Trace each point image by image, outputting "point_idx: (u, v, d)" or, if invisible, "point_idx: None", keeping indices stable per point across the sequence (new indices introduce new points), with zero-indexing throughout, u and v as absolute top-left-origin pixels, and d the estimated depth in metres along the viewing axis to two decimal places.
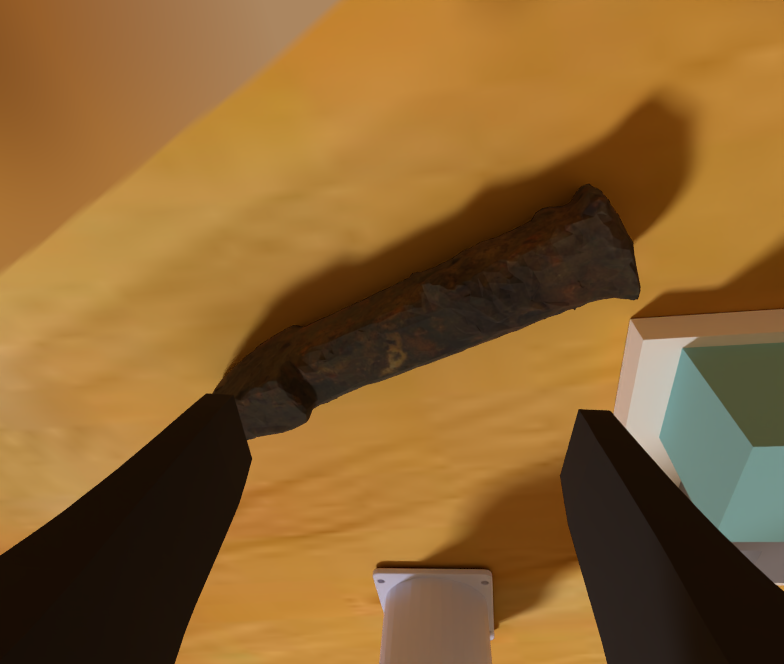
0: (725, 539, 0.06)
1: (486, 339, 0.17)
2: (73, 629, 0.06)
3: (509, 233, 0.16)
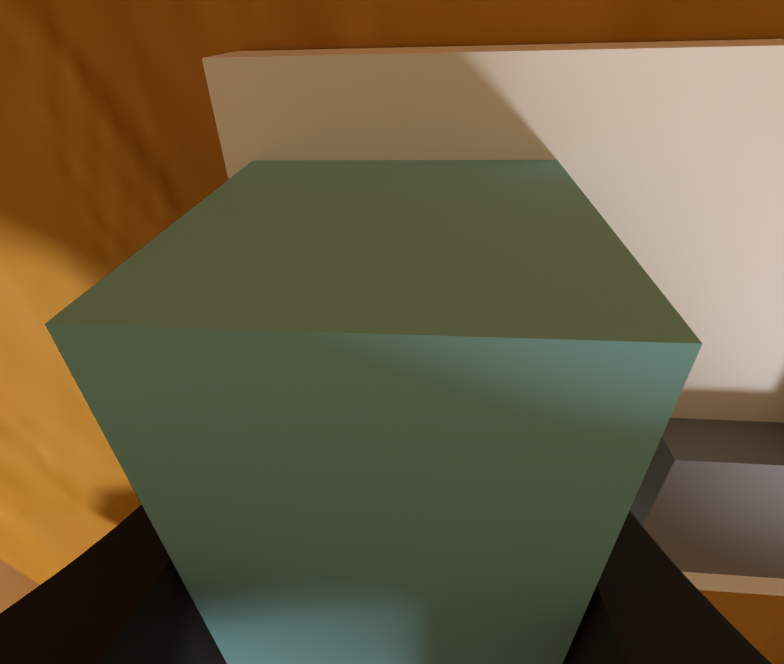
0: (644, 534, 0.06)
1: None
2: (151, 636, 0.06)
3: None
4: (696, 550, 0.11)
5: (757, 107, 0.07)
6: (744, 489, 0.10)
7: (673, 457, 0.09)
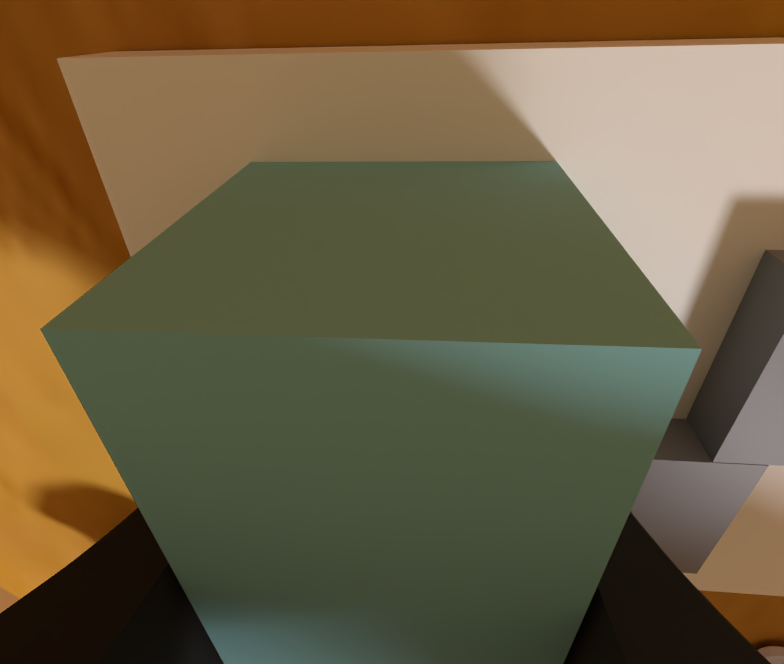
0: (644, 534, 0.06)
1: None
2: (151, 636, 0.06)
3: None
4: None
5: (595, 107, 0.07)
6: None
7: None
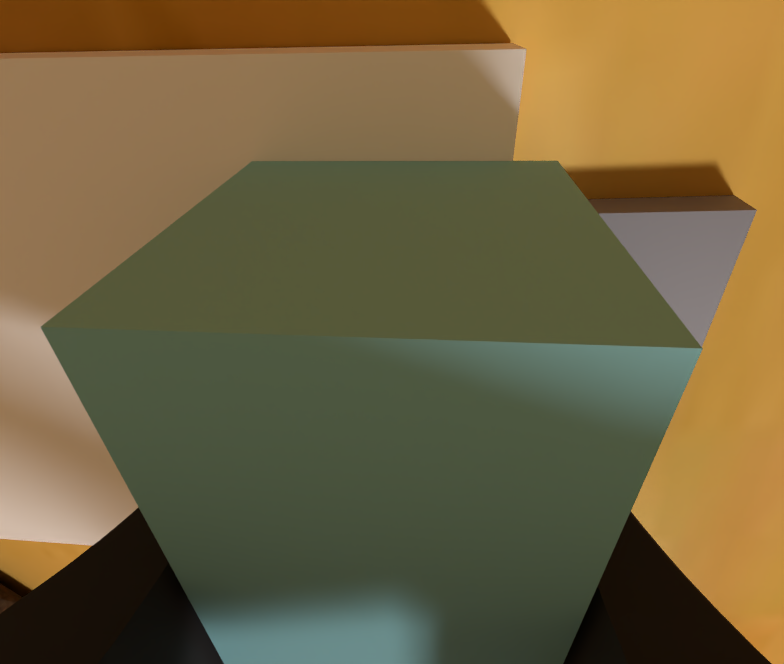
0: (645, 534, 0.06)
1: None
2: (151, 636, 0.06)
3: None
4: None
5: None
6: None
7: None
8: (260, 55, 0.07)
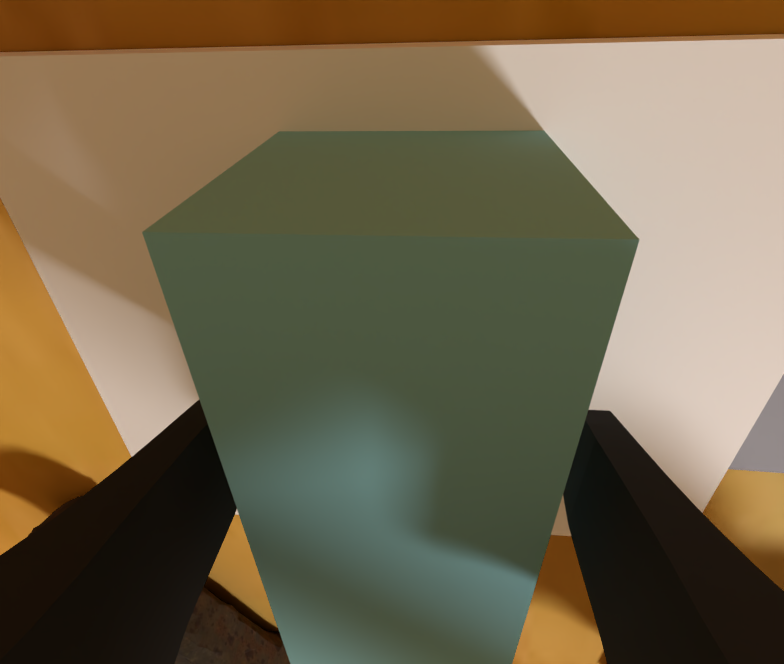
0: (725, 539, 0.06)
1: None
2: (72, 629, 0.06)
3: None
4: (782, 450, 0.14)
5: (363, 97, 0.08)
6: None
7: None
8: (719, 41, 0.08)
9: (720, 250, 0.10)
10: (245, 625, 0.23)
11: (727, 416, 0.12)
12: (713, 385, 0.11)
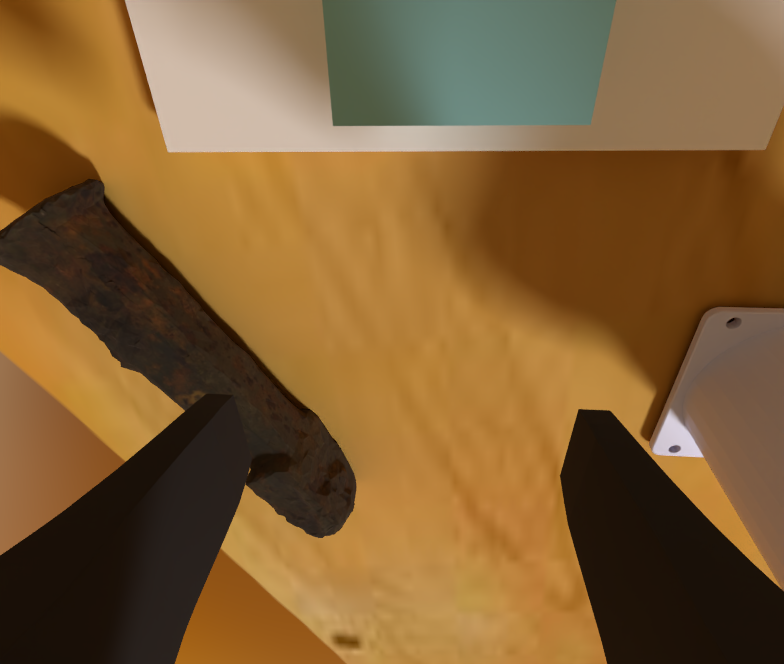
0: (725, 539, 0.06)
1: (152, 330, 0.17)
2: (72, 629, 0.06)
3: None
4: None
5: None
6: None
7: None
8: None
9: None
10: (265, 378, 0.21)
11: None
12: None
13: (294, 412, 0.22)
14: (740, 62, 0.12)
